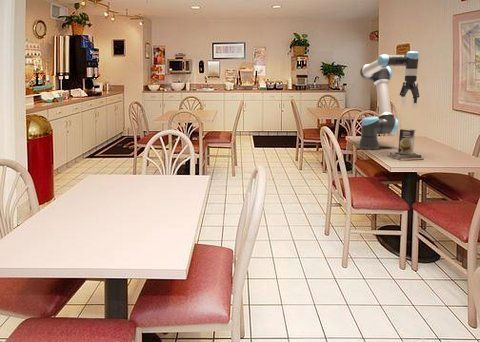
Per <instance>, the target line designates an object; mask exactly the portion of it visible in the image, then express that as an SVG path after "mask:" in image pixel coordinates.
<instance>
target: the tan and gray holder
mask: <svg viewBox="0 0 480 342" xmlns="http://www.w3.org/2000/svg"><path fill="white" fill-rule="evenodd" d="M387 157H388V158H390V159H394V160H397V161H401V162H408V161H424V160H425V158H424V157H422V154H420V153H416V152H413V154H412V155H408V154H398V151H397V152H389V154H388V155H387Z"/></svg>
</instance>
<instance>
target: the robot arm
mask: <svg viewBox="0 0 480 342" xmlns="http://www.w3.org/2000/svg"><path fill="white" fill-rule="evenodd" d="M419 54H420V53H419V52H418V51H407V52H406V54H385V53H384V54H380V55H379V56H378V57H377V59H375V60H374V61H373V62H370V63H367V64H365V65H363V66H362V67H361V68H360V70H359V75H360V77H361V78H362V79H363V80H365V81H368V82H369V81H371V82H373V85H374V86H375V87H376V97H377V104H378V112H379V113H378V114H379V115H378V116H367V117H366V116H365V117H364V118H362V119H361V131H360V135H361V137H360V140H359V143H358V145H357V146H358V147H357V148H358V149H360V150H366V149H376V150H379V149H380V144H379V140H378V135H392V134H393V135H394V134H395V133H396V132H398V131H397V130H398V129H399V120H398V118H396V117H395V114H393V113H392V105H391V100H390V99H391V97H390V92H389V91H390V90H389V83H390V80H391V79H392V74H393V73H392V69H391V67H405V69H404V71H405V72H404V75H405V76H404V82H402V86H401V89H400V92H399V96H400V97H401V99H400V107H405V106H406V95H407V93H408V91H409V90H410V91H411V95H412V101H411V103H412V104H411V109H416V108H417V104H418V98H420V92H419V91H420V90H419V87H418V86H419V83H418V82H416V81H417V79H418V78H417V75H418V67H419Z"/></svg>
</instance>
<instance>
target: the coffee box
mask: <svg viewBox="0 0 480 342" xmlns="http://www.w3.org/2000/svg"><path fill="white" fill-rule="evenodd" d="M398 135H399V136H398V149H397V152H398V154H408V155H412V154H413V153H414V147H415V137H416V129H408V128H401V129H399V134H398Z"/></svg>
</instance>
